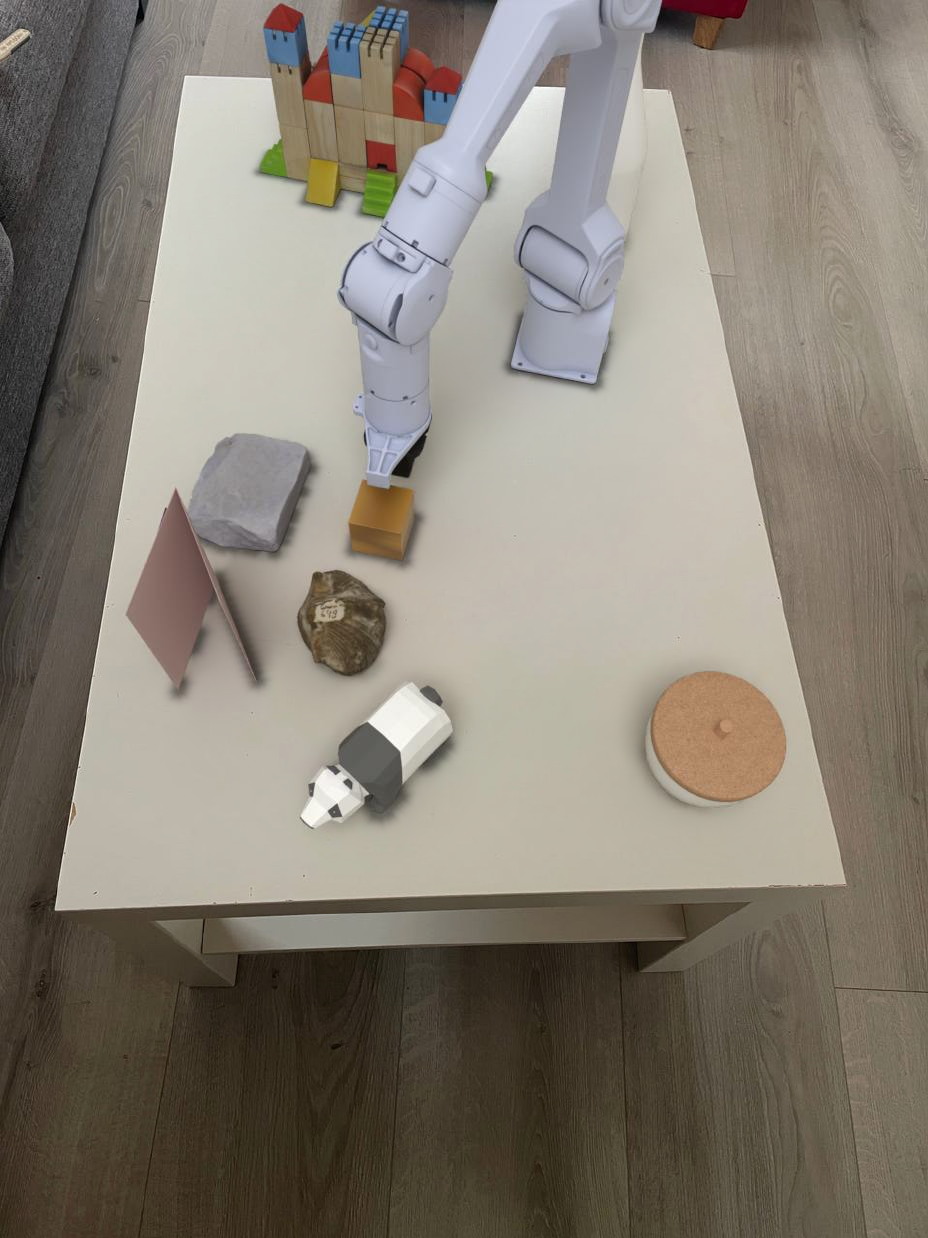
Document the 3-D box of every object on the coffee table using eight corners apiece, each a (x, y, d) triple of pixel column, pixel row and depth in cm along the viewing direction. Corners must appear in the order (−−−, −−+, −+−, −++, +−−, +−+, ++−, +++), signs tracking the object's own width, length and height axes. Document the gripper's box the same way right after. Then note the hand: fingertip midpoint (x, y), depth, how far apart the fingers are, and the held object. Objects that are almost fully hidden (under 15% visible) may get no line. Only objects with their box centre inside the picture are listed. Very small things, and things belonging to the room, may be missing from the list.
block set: (498, 161, 109) (512, -4, 92) (473, 235, 103) (483, 72, 85) (286, 121, 111) (261, -49, 93) (249, 191, 104) (215, 23, 87)
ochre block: (414, 518, 85) (414, 489, 80) (402, 561, 82) (401, 533, 78) (365, 508, 85) (362, 478, 80) (352, 550, 83) (348, 522, 78)
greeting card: (207, 577, 81) (164, 485, 67) (284, 591, 80) (256, 500, 67) (168, 688, 76) (113, 612, 62) (250, 703, 75) (212, 629, 62)
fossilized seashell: (304, 562, 79) (277, 665, 76) (332, 545, 73) (304, 656, 71) (375, 588, 82) (352, 688, 80) (407, 575, 77) (383, 681, 74)
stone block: (192, 549, 84) (285, 558, 82) (170, 520, 80) (268, 528, 77) (232, 457, 89) (321, 462, 87) (214, 425, 85) (306, 430, 83)
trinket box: (622, 707, 77) (646, 666, 68) (738, 700, 77) (776, 658, 69) (643, 827, 72) (672, 799, 63) (766, 817, 73) (811, 788, 64)
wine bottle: (530, 232, 103) (568, -51, 76) (584, 199, 106) (639, -85, 80) (586, 276, 101) (646, -3, 74) (640, 240, 104) (716, -40, 77)
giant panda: (412, 698, 76) (411, 655, 68) (458, 738, 75) (463, 699, 66) (291, 819, 71) (273, 789, 62) (338, 865, 69) (325, 840, 61)
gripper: (372, 305, 76) (379, 407, 88) (326, 432, 70) (341, 522, 82) (449, 320, 76) (446, 420, 88) (410, 449, 69) (412, 537, 81)
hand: (400, 470), depth 85 cm, fingers closed
